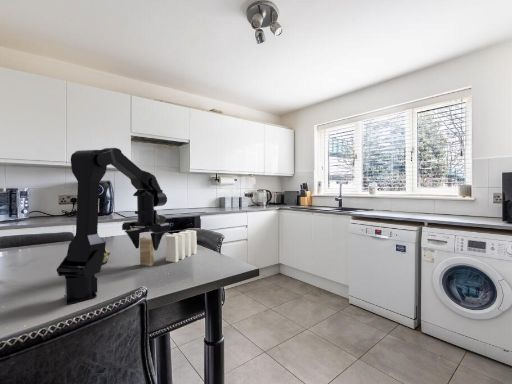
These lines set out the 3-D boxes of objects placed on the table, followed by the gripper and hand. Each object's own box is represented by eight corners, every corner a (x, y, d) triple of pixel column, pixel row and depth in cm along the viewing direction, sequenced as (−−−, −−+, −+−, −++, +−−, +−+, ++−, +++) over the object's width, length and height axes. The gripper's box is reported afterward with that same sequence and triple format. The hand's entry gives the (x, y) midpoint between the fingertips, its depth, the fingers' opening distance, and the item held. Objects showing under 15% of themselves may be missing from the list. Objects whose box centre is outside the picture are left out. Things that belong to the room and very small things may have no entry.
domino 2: (175, 262, 99) (175, 236, 98) (165, 260, 101) (165, 235, 100) (178, 260, 100) (178, 235, 100) (168, 259, 102) (168, 235, 102)
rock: (68, 272, 92) (91, 269, 90) (66, 254, 92) (89, 251, 90) (93, 263, 103) (114, 261, 101) (90, 248, 103) (111, 245, 101)
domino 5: (194, 254, 110) (194, 231, 110) (185, 253, 112) (184, 230, 111) (196, 253, 111) (196, 230, 111) (187, 252, 113) (187, 230, 113)
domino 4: (188, 256, 106) (188, 233, 106) (179, 255, 108) (178, 232, 108) (191, 255, 108) (190, 232, 107) (181, 254, 109) (181, 231, 109)
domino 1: (150, 266, 94) (149, 239, 94) (140, 264, 96) (139, 238, 96) (153, 264, 95) (153, 238, 95) (143, 263, 97) (143, 237, 97)
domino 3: (182, 259, 102) (182, 234, 102) (172, 258, 104) (172, 233, 104) (185, 258, 104) (184, 234, 104) (175, 257, 106) (174, 233, 106)
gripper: (179, 206, 99) (180, 246, 99) (143, 205, 106) (144, 243, 106) (158, 209, 89) (159, 253, 89) (120, 208, 96) (121, 249, 96)
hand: (146, 249), depth 95 cm, fingers open, 9 cm apart
